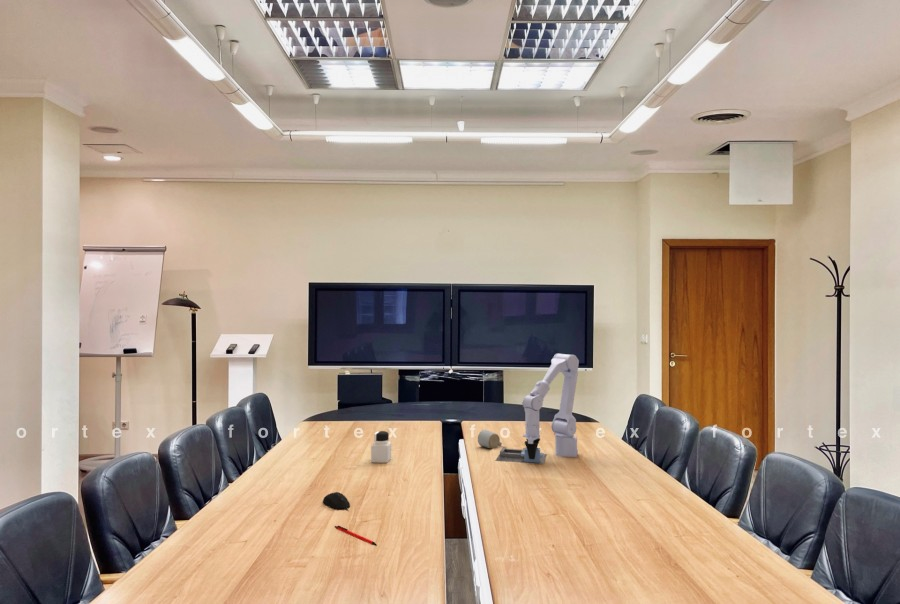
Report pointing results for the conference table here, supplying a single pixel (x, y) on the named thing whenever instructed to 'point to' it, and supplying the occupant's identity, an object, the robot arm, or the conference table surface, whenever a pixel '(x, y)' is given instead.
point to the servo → (537, 455)
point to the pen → (355, 535)
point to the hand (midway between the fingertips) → (532, 457)
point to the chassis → (515, 456)
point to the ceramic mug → (488, 439)
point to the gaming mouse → (336, 501)
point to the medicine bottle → (381, 447)
